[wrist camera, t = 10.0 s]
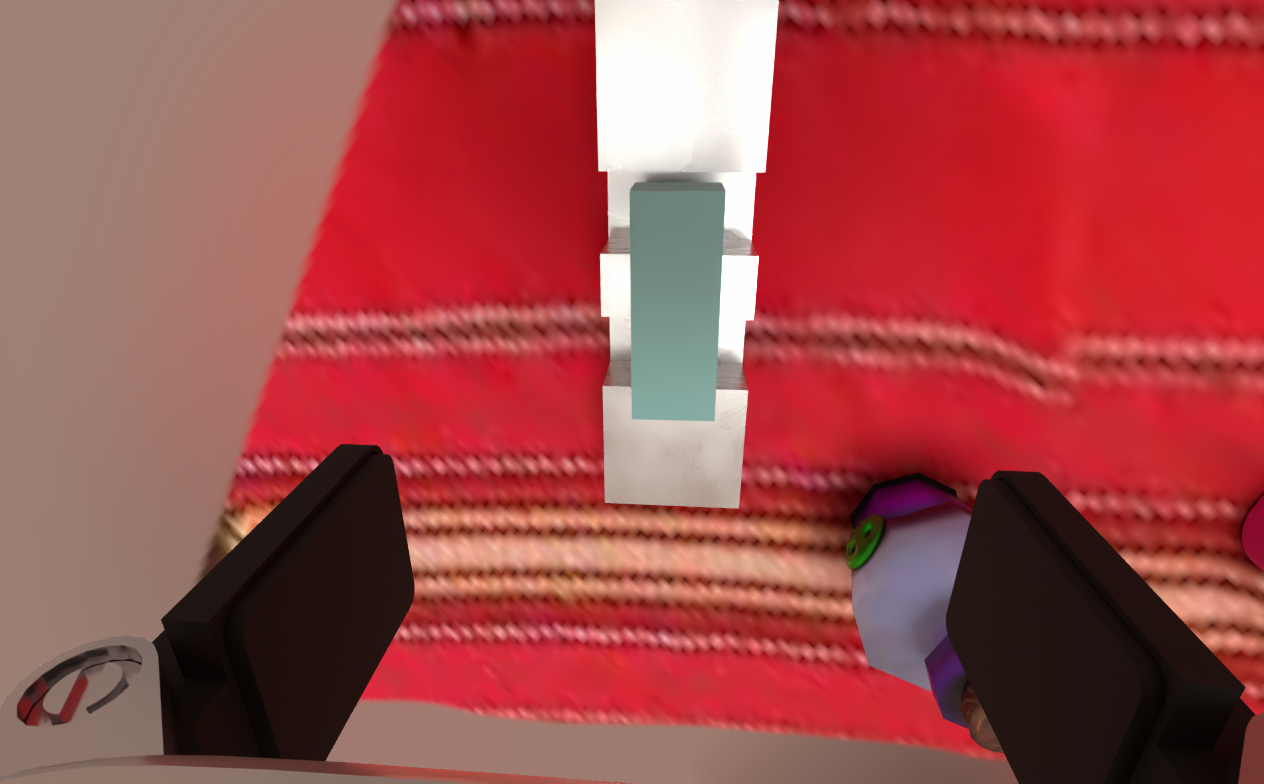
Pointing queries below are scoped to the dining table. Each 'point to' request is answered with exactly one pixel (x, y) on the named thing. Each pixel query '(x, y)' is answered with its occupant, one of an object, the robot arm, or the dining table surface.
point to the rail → (681, 152)
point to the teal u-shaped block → (675, 298)
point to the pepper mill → (1254, 534)
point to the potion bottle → (914, 591)
